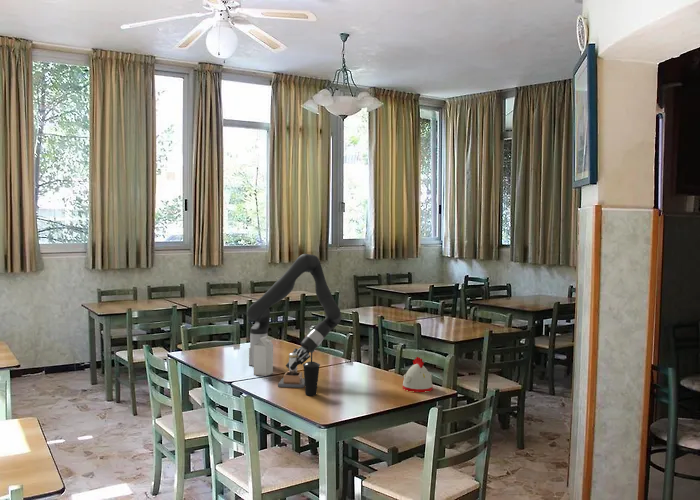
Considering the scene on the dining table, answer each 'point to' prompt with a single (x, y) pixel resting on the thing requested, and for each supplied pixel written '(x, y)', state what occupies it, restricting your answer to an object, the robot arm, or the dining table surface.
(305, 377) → the drinking cup
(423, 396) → the dining table surface
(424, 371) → the kitchen timer
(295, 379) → the collar plate
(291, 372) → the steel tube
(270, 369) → the milk carton
